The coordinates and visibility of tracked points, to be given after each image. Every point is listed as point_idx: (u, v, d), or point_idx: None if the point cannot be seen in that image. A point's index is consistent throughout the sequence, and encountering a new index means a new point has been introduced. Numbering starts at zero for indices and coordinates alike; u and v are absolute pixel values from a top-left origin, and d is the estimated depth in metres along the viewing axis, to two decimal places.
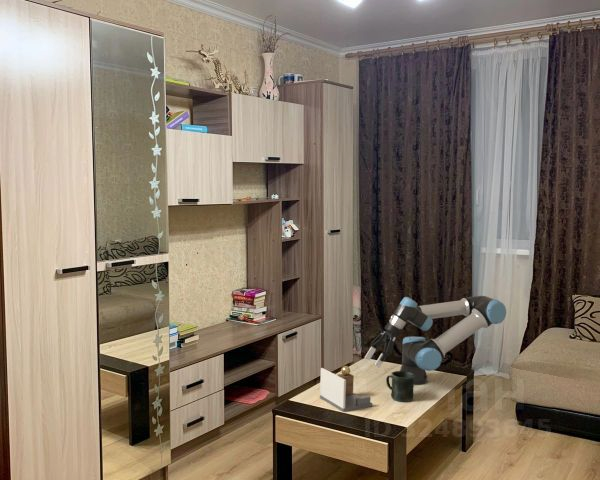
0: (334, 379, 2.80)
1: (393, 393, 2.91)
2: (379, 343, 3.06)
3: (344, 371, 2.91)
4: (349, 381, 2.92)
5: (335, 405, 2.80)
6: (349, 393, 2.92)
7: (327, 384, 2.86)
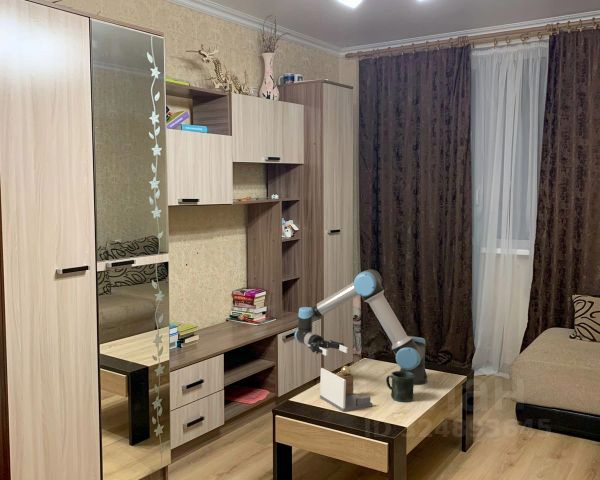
0: (334, 379, 2.80)
1: (393, 393, 2.91)
2: (332, 345, 3.10)
3: (344, 371, 2.91)
4: (349, 381, 2.92)
5: (335, 405, 2.80)
6: (349, 393, 2.92)
7: (327, 384, 2.86)
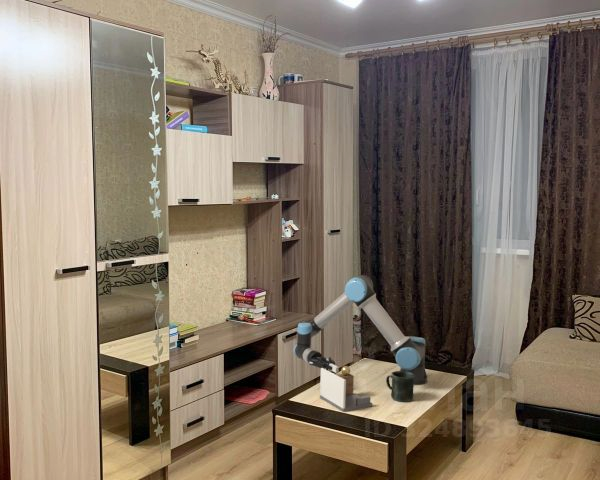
0: (334, 379, 2.80)
1: (393, 393, 2.91)
2: (326, 363, 3.09)
3: (344, 371, 2.91)
4: (349, 381, 2.92)
5: (335, 405, 2.80)
6: (349, 393, 2.92)
7: (327, 384, 2.86)
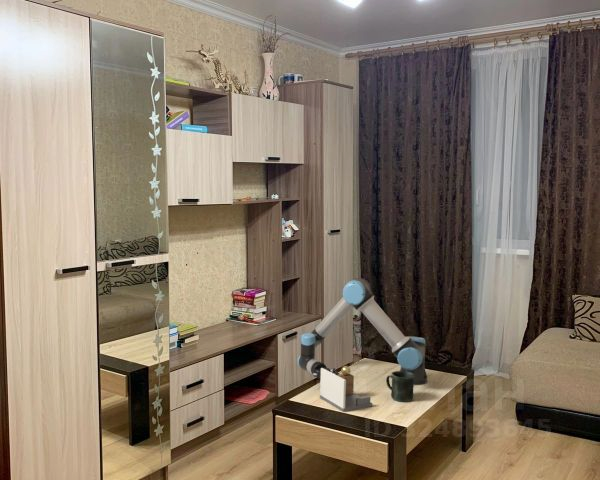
0: (334, 379, 2.80)
1: (393, 393, 2.91)
2: None
3: (344, 371, 2.91)
4: (349, 381, 2.91)
5: (335, 405, 2.80)
6: (349, 393, 2.92)
7: (327, 384, 2.86)
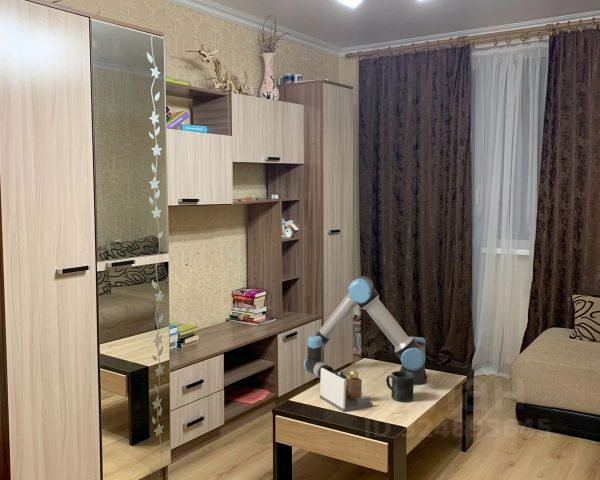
0: (334, 379, 2.80)
1: (393, 393, 2.91)
2: None
3: (352, 375, 2.85)
4: (357, 385, 2.86)
5: (335, 405, 2.80)
6: (357, 397, 2.86)
7: (327, 384, 2.86)
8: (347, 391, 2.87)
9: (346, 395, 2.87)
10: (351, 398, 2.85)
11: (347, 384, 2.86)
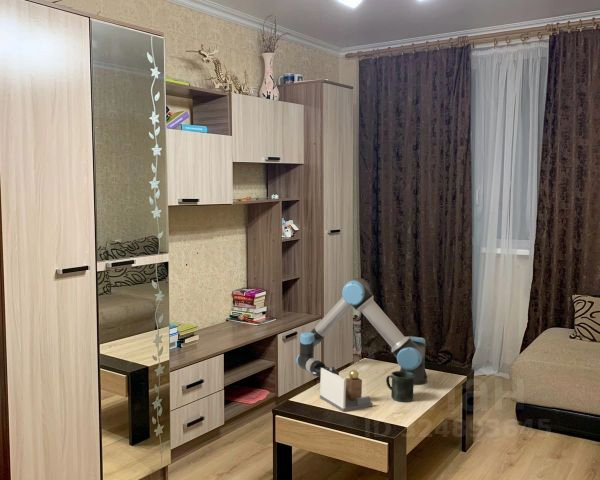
0: (334, 379, 2.80)
1: (393, 393, 2.91)
2: None
3: (352, 375, 2.85)
4: (357, 385, 2.86)
5: (335, 405, 2.80)
6: (357, 397, 2.86)
7: (327, 384, 2.86)
8: (347, 391, 2.86)
9: (346, 395, 2.87)
10: (351, 398, 2.85)
11: (347, 384, 2.86)
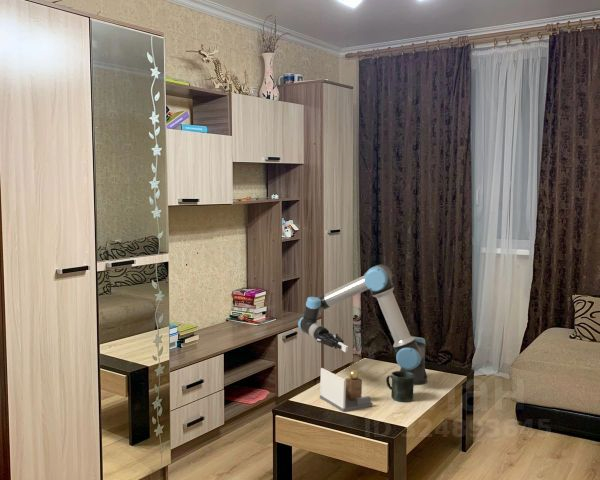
0: (334, 379, 2.80)
1: (393, 393, 2.91)
2: (334, 340, 3.08)
3: (352, 375, 2.85)
4: (357, 385, 2.86)
5: (335, 405, 2.80)
6: (357, 397, 2.86)
7: (327, 384, 2.86)
8: (347, 391, 2.86)
9: (346, 395, 2.87)
10: (351, 398, 2.85)
11: (347, 384, 2.86)
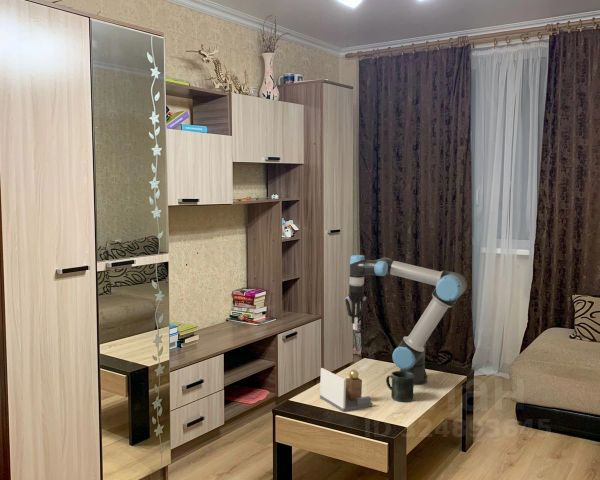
0: (334, 379, 2.80)
1: (393, 393, 2.91)
2: (357, 308, 3.19)
3: (352, 375, 2.85)
4: (357, 385, 2.86)
5: (335, 405, 2.80)
6: (357, 397, 2.86)
7: (327, 384, 2.86)
8: (347, 391, 2.86)
9: (346, 395, 2.87)
10: (351, 398, 2.85)
11: (347, 384, 2.86)
